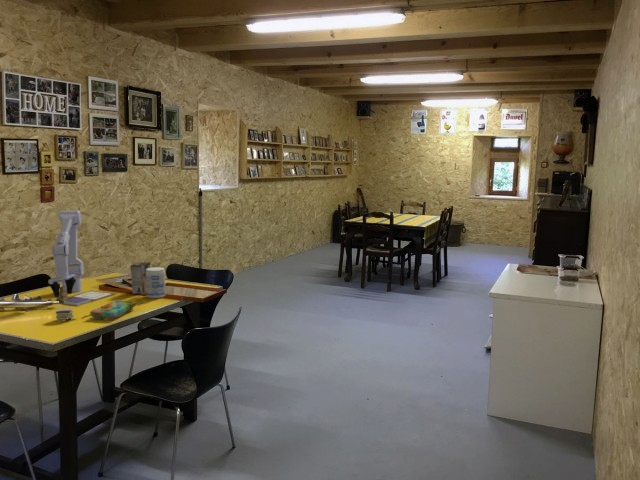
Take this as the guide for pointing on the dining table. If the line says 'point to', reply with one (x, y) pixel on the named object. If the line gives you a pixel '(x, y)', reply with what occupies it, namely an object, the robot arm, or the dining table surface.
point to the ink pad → (77, 301)
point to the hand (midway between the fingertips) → (63, 295)
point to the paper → (92, 295)
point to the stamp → (63, 295)
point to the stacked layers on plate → (64, 313)
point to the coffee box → (139, 277)
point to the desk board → (85, 298)
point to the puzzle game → (113, 310)
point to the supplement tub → (155, 282)
